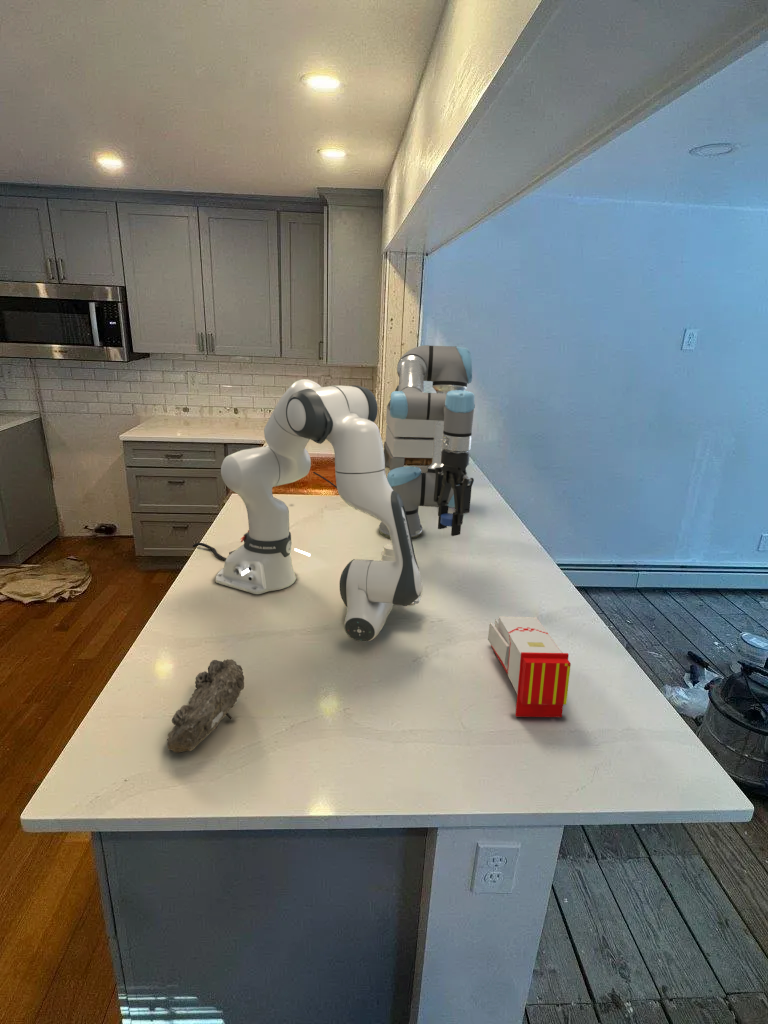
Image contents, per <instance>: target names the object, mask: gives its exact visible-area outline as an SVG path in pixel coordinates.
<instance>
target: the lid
mask: <svg viewBox="0 0 768 1024" xmlns="http://www.w3.org/2000/svg"><path fill="white" fill-rule="evenodd" d="M452 518H453V512H451V513H450V512H448V513H444V514H442V515H441V520H440V523H441V524H442V525H444V526H447V527H452Z"/></svg>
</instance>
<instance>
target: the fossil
mask: <svg viewBox="0 0 768 1024" xmlns="http://www.w3.org/2000/svg"><path fill="white" fill-rule="evenodd" d="M243 670H244V669H243V667H242V665H240V664H237V662H236V661H235V660H234V659H232V658H231V659H227V658H226V659H224V660H223V661H222V660H217V659H212V660H211V661H210V663H209V665H208V666H207V671H201V672H199V673H198V674H197V675H196V676H195V680H194V684H195V685H194V687H195V689H194V690H193V693H192V694H191V697H190V698H189V700H188V704H184V705H182V706H181V707H180V709H177V710H176V711H175V713H174V715H173V716H172V718H171V723H172V724H173V727H172V730H171V731H170V732H168V734H167V738H166V741H167V742H166V745H167V749H168V750H169V751H173V752H174V753H176V754H178V753H182V752H188V751H189V752H192V751H193V750H195V748H196V747H197V746H199V744H200V743H201V742H203V741H204V740H205V739H206V738H207V737H208V736H209V735H210V734H211V733H212V732H214V730H215V729H217V727H218V726H219V724H220V722H221V721H222V720H223V719H224V718H225V716H226V717H227V719H229V720H233V717H232V715H230V714H229V710H230V709H231V708H234V706H235V704H236V703H237V702H238V699H239V697H240V695H241V693H242V691H243V690H245V689H244V688H245V675H244V671H243Z"/></svg>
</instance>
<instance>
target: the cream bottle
mask: <svg viewBox="0 0 768 1024" xmlns="http://www.w3.org/2000/svg"><path fill="white" fill-rule="evenodd" d="M382 548H383V550H382V551H381V555H380V557H381V558H380V561H396V560H395V556H394V551H393V546H392V543H387V544H384V545H383V547H382Z"/></svg>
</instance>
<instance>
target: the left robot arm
mask: <svg viewBox="0 0 768 1024" xmlns="http://www.w3.org/2000/svg"><path fill="white" fill-rule="evenodd" d="M378 411H379V410H378V402H377V398H376V397H375V394H374V393H373V392H372V391H371V390H370V389H369V388H367V387H364V386H361V385H356V384H355V385H354V384H351V385H329V386H321V384H319V383H318V382H316V381H315V380H311V379H307V378H305V379H304V378H303V379H298V380H296V381H294V382H293V383H292V384H291V385H290V386H289V387H288V388H287V389H286V391H285V392H284V393H283V394H282V396H281V397H280V398H279V400H278V402H277V403H276V405H275V407H274V409H273V411H272V413H271V414H270V416H269V418H268V420H267V422H266V423H265V426H264V428H263V435H264V440H265V442H266V444H267V445H263V446H259V447H258V446H257V447H252V448H245V449H241V450H238V451H236V452H233V453H231V454H229V455H227V456H225V457H224V459H223V461H222V463H221V466H220V475H221V479H222V482H223V483H224V485H225V486H226V488H228V489H229V490H230V491H232V492H233V493H235V494H236V495H238V496H239V497H240V499H241V500H242V501H243V503H244V506H245V508H246V513H247V521H248V522H247V523H248V530H247V532H245V533H244V534H243V536H242V537H241V538H240V543H243V544H242V545H241V546H239V547H238V548H237V549H234V550H232V551H229V552H228V556H227V557H224V556H222V555H221V554H220V553H218V551H217V550H216V548H215V547H213V546H211V545H209V544H207V543H204V542H196V543H193V545H191V546H192V548H196V547H199V546H200V547H203V548H206V549H209V550H210V551H212V553H213V554H214V556H215V557H217V558H218V559H219V560H222V561H224V564H223V567H222V568H221V569H220V570H219V571H218V572H217V574H215V583H216V584H218V585H223V586H226V587H230V588H233V589H236V590H240V591H243V592H246V593H251V594H253V595H262V594H264V593H267V592H274V591H279V590H283V589H287V588H288V587H290V586H292V585H293V584H294V583H295V582H296V580H297V576H296V574H295V571H294V566H293V562H292V561H293V560H292V555H291V554H292V548H293V547H292V545H293V544H292V533H291V532H290V509H289V507H288V506H287V504H286V502H284V501H282V500H281V499H279V498H276V497H274V494H273V488H274V487H279V486H283V485H288V484H293V483H295V482H297V481H299V480H301V479H303V478H306V477H307V476H308V474H310V471H311V467H312V459H311V456H310V453H309V452H308V450H307V448H306V447H307V445H308V443H309V442H310V440H311V441H313V442H315V443H316V444H319V445H321V444H323V443H324V442H325V441H328V442H329V443H330V444H331V446H332V449H333V453H334V473H335V474H334V475H335V486H337V488H336V490H337V493H338V495H339V496H340V498H341V500H343V501H344V502H345V504H347V505H348V506H349V507H351V508H353V509H354V510H356V511H359V512H360V513H364V514H367V515H369V516H371V517H373V518H375V519H377V520H379V521H380V523H381V522H383V523H384V524H385V525H386V527H387V528H388V530H389V533H390V537H391V539H390V541H391V542H390V543H391V544H392V546H393V551H394V556H395V560H396V561H381V560H378V559H377V560H376V559H362V558H361V559H360V558H356V559H355V558H353V559H352V560H350V561H349V562H348V563H347V564H346V566H345V567H344V568H343V570H342V572H341V574H340V577H339V595H340V598H341V600H342V602H343V604H344V606H345V607H346V614H345V618H344V623H343V627H344V631H345V633H346V634H347V635H348V637H350V638H351V639H352V640H354V641H357V642H364V643H365V642H370V641H372V640H373V639H375V638H376V637H377V636H378V635H379V634H380V632H381V630H382V629H383V627H384V626H385V624H386V621H387V620H388V616H389V615H390V613H391V611H392V609H393V607H394V605H395V606H402V607H408V606H415V605H416V604H417V605H418V604H419V603H420V601H421V598H422V596H423V592H424V585H423V578H422V575H421V571H420V567H419V564H418V562H417V558H416V553H415V550H414V545H413V544H414V543H413V539H411V534H410V529H409V525H408V520H407V516H406V512H405V508H404V504H403V501H402V498H401V496H400V494H399V493H397V492H395V491H393V489H392V488H391V486H390V484H389V482H388V480H387V474H386V466H385V458H384V443H383V439H382V435H381V431H380V428H379V427H378V425H377V424H376V423H375V421H376V419H377V417H378ZM294 551H295V552H298V553H300V554H303V555H305V556H307V557H311V553H309V552H306V551H305V550H304V551H303V550H300V549H298V548H294Z"/></svg>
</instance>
